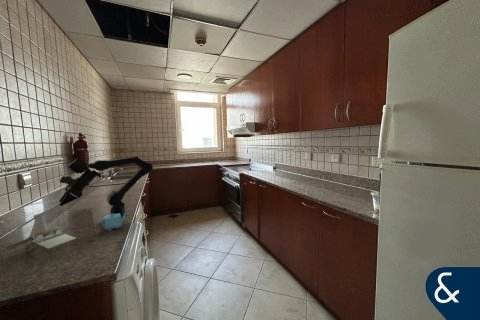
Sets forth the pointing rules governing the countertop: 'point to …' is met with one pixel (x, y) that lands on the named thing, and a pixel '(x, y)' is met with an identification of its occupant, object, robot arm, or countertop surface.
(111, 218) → the teapot
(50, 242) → the pad
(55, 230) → the rod
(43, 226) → the flask
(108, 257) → the countertop surface
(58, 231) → the cradle
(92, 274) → the countertop surface
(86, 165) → the robot arm
